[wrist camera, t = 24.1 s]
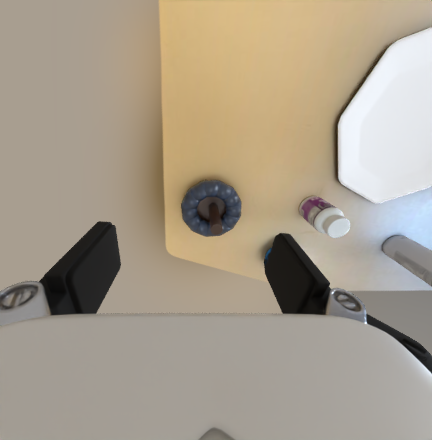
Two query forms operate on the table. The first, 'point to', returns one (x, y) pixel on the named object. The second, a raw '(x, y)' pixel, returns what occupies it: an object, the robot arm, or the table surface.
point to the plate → (390, 124)
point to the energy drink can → (410, 256)
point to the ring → (210, 190)
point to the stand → (212, 213)
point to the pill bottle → (324, 217)
